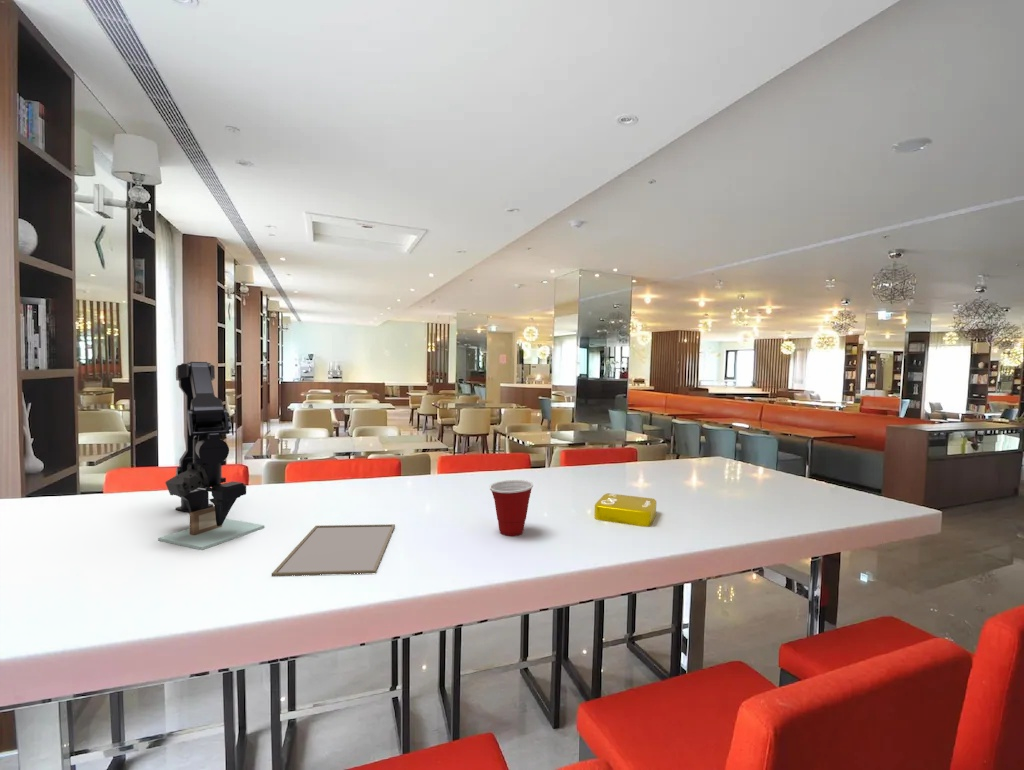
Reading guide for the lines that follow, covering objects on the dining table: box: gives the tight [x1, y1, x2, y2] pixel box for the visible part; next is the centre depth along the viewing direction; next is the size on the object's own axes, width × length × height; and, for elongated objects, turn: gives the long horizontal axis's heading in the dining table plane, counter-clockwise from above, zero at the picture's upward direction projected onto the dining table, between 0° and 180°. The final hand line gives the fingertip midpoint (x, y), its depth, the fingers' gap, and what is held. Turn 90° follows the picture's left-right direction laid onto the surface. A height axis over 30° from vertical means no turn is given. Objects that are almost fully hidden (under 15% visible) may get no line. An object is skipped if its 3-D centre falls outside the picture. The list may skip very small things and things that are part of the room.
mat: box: [157, 517, 265, 551], centre depth 114 cm, size 14×16×1 cm
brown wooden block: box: [189, 505, 222, 535], centre depth 114 cm, size 2×7×5 cm, turn 159°
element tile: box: [594, 493, 657, 528], centre depth 135 cm, size 15×15×5 cm
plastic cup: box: [489, 479, 534, 537], centre depth 119 cm, size 11×11×12 cm
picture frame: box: [271, 524, 396, 577], centre depth 107 cm, size 19×1×28 cm
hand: (207, 523), depth 115 cm, fingers open, 8 cm apart
